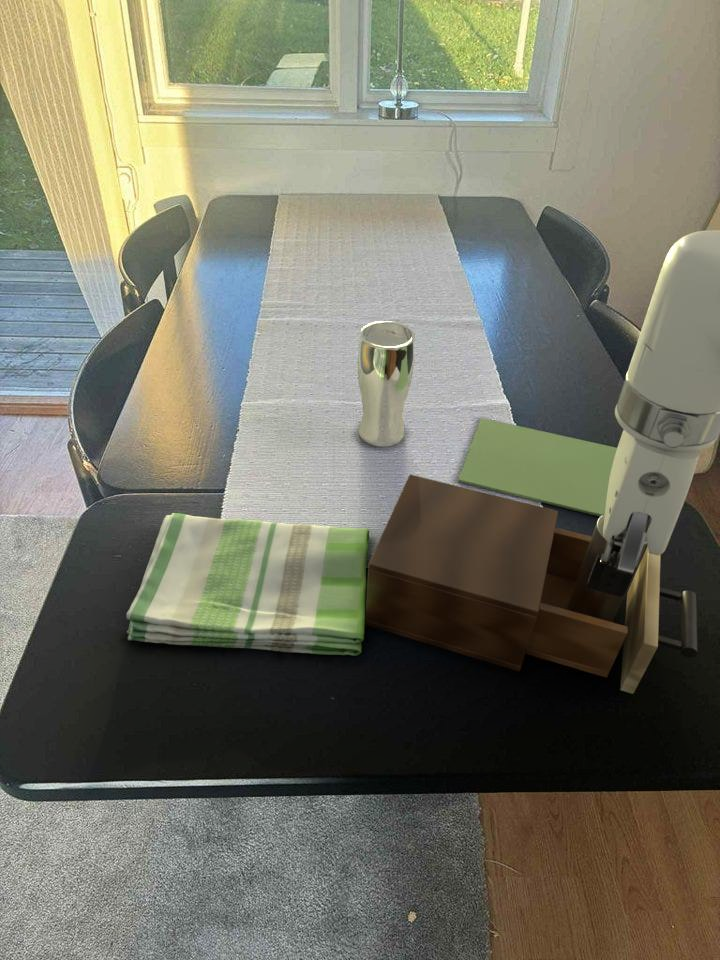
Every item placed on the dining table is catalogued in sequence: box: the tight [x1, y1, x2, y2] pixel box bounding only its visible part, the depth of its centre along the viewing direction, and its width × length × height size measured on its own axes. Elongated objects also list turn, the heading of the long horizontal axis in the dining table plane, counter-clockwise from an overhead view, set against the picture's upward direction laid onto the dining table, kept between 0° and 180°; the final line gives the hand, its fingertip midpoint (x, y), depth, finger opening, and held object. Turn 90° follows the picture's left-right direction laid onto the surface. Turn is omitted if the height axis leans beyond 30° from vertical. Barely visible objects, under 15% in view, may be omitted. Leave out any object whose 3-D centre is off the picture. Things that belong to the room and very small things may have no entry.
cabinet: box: [365, 474, 559, 672], centre depth 70 cm, size 16×14×9 cm
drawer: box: [525, 526, 699, 695], centre depth 67 cm, size 19×12×7 cm, turn 71°
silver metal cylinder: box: [566, 514, 647, 623], centre depth 65 cm, size 4×4×13 cm
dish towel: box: [125, 512, 371, 657], centre depth 72 cm, size 17×23×4 cm
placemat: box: [457, 417, 617, 518], centre depth 90 cm, size 20×14×1 cm
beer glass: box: [357, 320, 415, 448], centre depth 89 cm, size 7×7×15 cm
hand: (607, 568), depth 64 cm, fingers closed on silver metal cylinder, 4 cm apart
